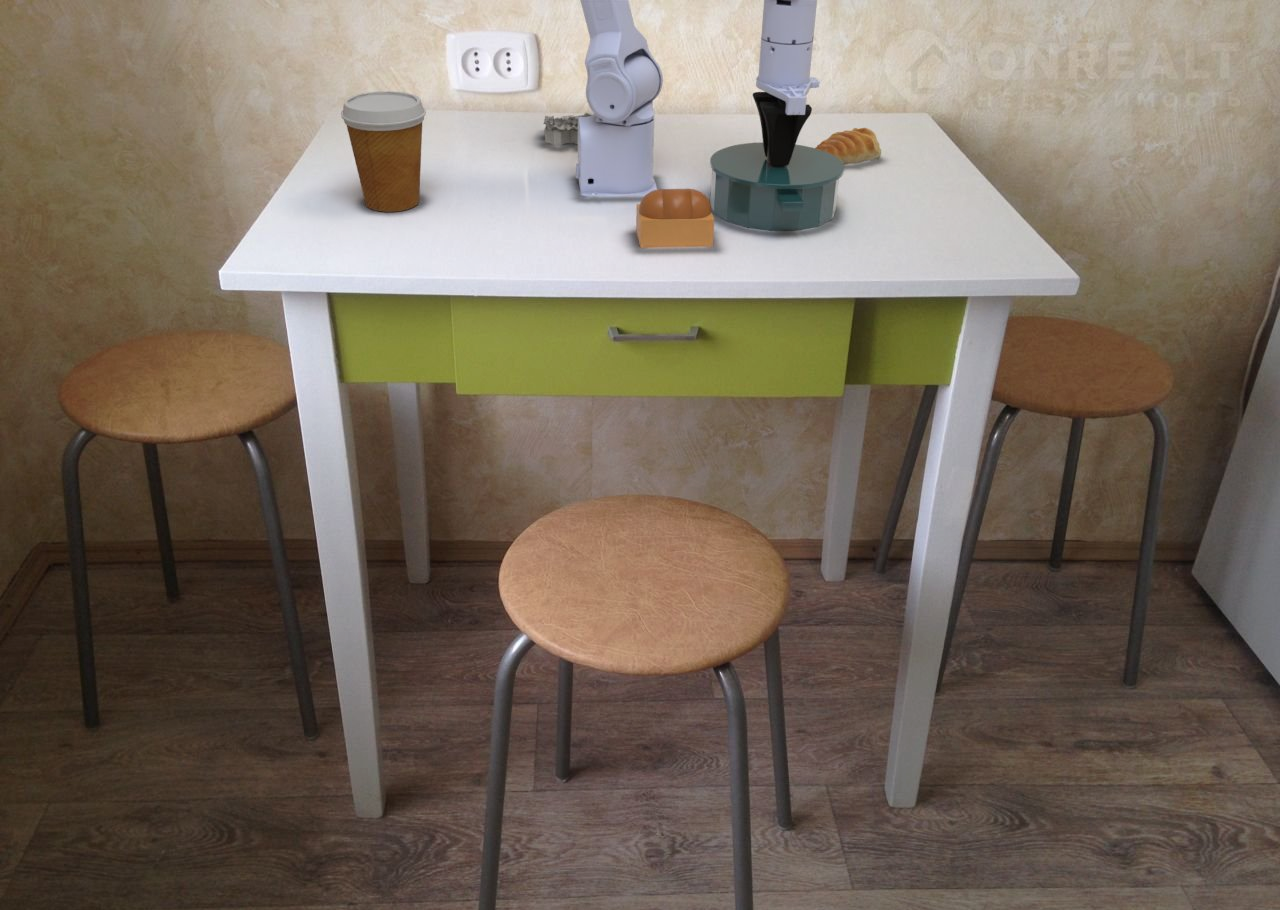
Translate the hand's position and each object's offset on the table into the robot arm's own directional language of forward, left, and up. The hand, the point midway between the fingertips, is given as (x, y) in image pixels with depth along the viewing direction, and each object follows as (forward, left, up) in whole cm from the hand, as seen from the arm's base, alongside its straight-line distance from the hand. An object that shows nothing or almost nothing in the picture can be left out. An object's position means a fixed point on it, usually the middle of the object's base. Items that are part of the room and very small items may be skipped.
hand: (776, 160), depth 132 cm
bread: (-13, -9, -6) cm, 17 cm away
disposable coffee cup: (-45, +5, -6) cm, 46 cm away
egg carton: (-21, +28, -6) cm, 36 cm away
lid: (0, 0, -1) cm, 1 cm away
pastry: (+14, +19, -6) cm, 24 cm away
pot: (0, 0, -6) cm, 6 cm away
